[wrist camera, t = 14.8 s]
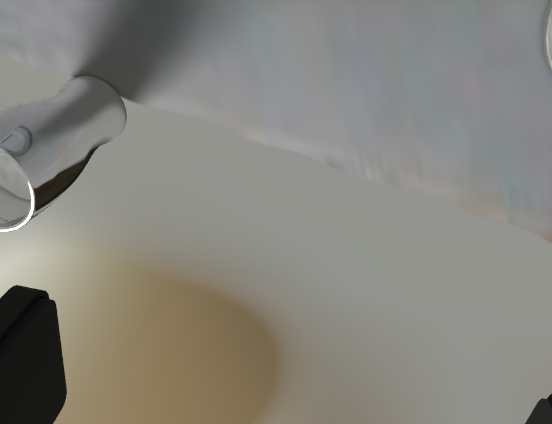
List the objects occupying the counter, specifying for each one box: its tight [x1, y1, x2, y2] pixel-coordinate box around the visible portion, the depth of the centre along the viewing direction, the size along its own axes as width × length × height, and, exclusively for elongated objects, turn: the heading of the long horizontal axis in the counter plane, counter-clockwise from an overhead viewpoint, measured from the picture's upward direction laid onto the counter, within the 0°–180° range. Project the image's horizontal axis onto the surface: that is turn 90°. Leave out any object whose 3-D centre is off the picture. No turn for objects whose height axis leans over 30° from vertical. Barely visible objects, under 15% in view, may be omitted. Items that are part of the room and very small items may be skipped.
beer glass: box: [0, 76, 126, 232], centre depth 38 cm, size 7×7×15 cm
